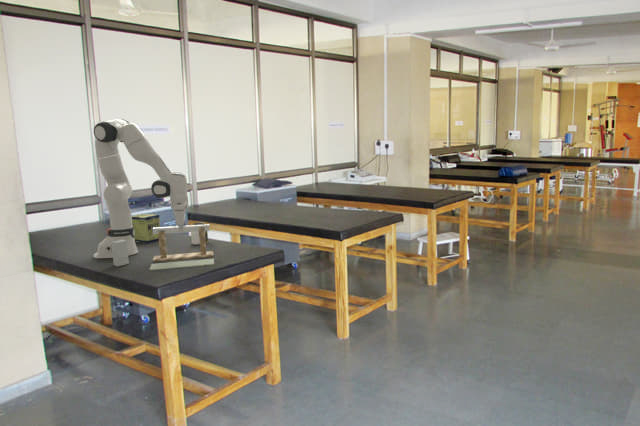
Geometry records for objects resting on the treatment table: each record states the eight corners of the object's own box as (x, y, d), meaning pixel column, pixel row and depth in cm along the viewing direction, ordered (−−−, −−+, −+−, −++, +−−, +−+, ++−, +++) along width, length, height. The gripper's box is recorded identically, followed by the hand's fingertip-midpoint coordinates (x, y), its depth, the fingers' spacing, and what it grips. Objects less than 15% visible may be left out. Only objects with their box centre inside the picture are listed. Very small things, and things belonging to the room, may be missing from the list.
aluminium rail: (152, 234, 259) (152, 228, 258) (153, 233, 262) (152, 227, 261) (209, 230, 265) (209, 225, 264) (209, 229, 268) (208, 224, 267)
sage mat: (149, 270, 242) (149, 269, 242) (151, 265, 252) (151, 263, 251) (214, 264, 248) (214, 263, 248) (213, 259, 258) (213, 258, 258)
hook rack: (153, 261, 258) (150, 232, 256) (154, 257, 266) (151, 229, 264) (213, 256, 265) (211, 228, 262) (213, 252, 272) (211, 225, 270)
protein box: (148, 243, 302) (146, 217, 299) (130, 241, 310) (128, 216, 307) (161, 239, 311) (159, 214, 308) (144, 237, 319) (141, 213, 316)
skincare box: (124, 262, 258) (122, 239, 256) (129, 264, 255) (127, 240, 253) (113, 265, 253) (110, 241, 251) (117, 266, 250) (115, 242, 248)
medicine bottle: (203, 244, 294) (201, 224, 292) (191, 244, 295) (190, 224, 293) (208, 241, 301) (206, 221, 299) (197, 241, 302) (195, 221, 300)
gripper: (174, 201, 270) (176, 227, 272) (172, 207, 250) (174, 235, 253) (186, 201, 272) (188, 226, 274) (185, 206, 252) (187, 234, 254)
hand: (181, 230), depth 263 cm, fingers closed on aluminium rail, 3 cm apart
